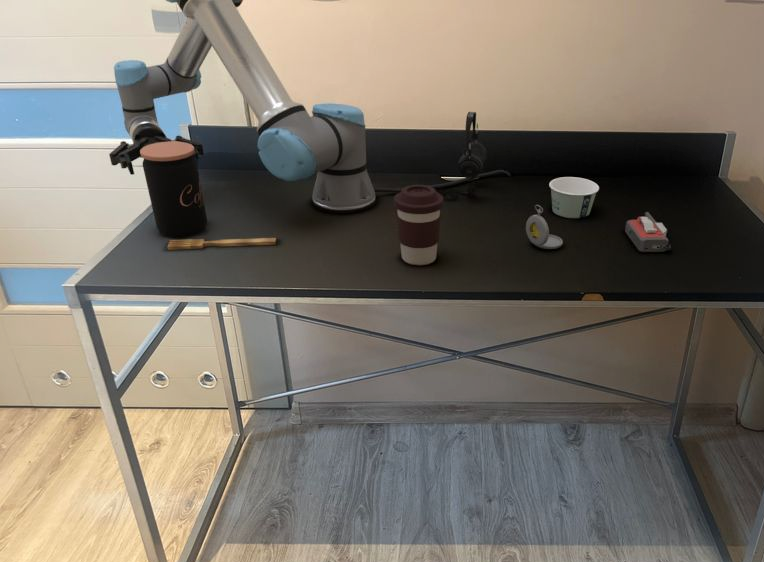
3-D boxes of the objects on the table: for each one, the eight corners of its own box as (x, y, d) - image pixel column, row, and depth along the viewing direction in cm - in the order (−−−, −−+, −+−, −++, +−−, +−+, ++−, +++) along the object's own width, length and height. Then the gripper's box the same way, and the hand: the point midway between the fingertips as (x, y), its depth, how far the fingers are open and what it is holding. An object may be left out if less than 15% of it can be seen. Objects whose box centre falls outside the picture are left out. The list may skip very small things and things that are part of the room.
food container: (537, 205, 174) (539, 180, 171) (577, 199, 179) (580, 174, 175) (564, 223, 166) (567, 197, 162) (605, 216, 170) (609, 190, 167)
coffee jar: (192, 241, 151) (176, 159, 141) (147, 235, 152) (128, 154, 142) (217, 222, 159) (203, 143, 150) (174, 217, 161) (158, 139, 151)
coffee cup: (424, 273, 142) (424, 203, 133) (385, 260, 146) (383, 191, 138) (451, 256, 149) (453, 188, 141) (413, 244, 153) (412, 178, 145)
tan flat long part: (276, 239, 153) (276, 236, 152) (275, 246, 150) (275, 242, 150) (170, 243, 149) (170, 240, 149) (167, 250, 147) (167, 246, 146)
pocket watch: (565, 241, 157) (570, 198, 152) (556, 256, 150) (561, 212, 145) (530, 235, 159) (533, 193, 154) (520, 249, 153) (523, 206, 147)
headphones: (444, 179, 188) (446, 103, 177) (486, 183, 187) (490, 106, 176) (435, 200, 175) (435, 119, 164) (479, 204, 174) (483, 122, 163)
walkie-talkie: (678, 254, 153) (649, 218, 170) (682, 235, 151) (652, 201, 167) (640, 255, 152) (614, 218, 169) (643, 236, 150) (617, 201, 167)
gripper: (203, 147, 179) (223, 173, 164) (96, 159, 168) (107, 188, 153) (198, 117, 175) (218, 141, 160) (88, 128, 164) (98, 154, 149)
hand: (163, 164), depth 156 cm, fingers open, 13 cm apart
